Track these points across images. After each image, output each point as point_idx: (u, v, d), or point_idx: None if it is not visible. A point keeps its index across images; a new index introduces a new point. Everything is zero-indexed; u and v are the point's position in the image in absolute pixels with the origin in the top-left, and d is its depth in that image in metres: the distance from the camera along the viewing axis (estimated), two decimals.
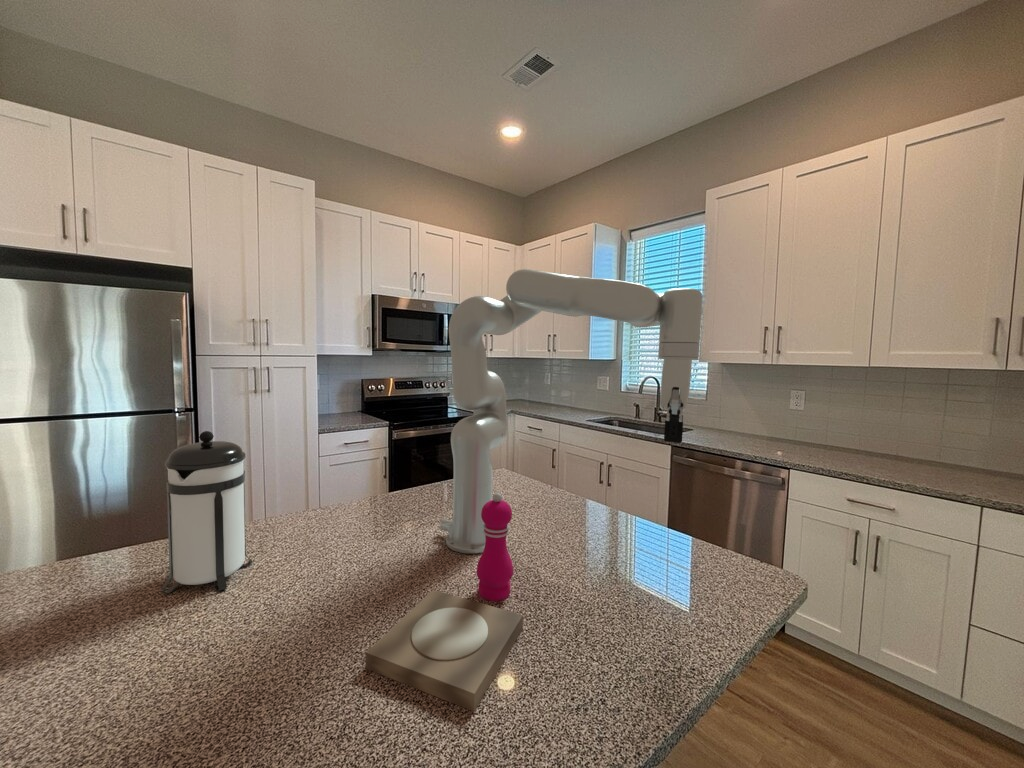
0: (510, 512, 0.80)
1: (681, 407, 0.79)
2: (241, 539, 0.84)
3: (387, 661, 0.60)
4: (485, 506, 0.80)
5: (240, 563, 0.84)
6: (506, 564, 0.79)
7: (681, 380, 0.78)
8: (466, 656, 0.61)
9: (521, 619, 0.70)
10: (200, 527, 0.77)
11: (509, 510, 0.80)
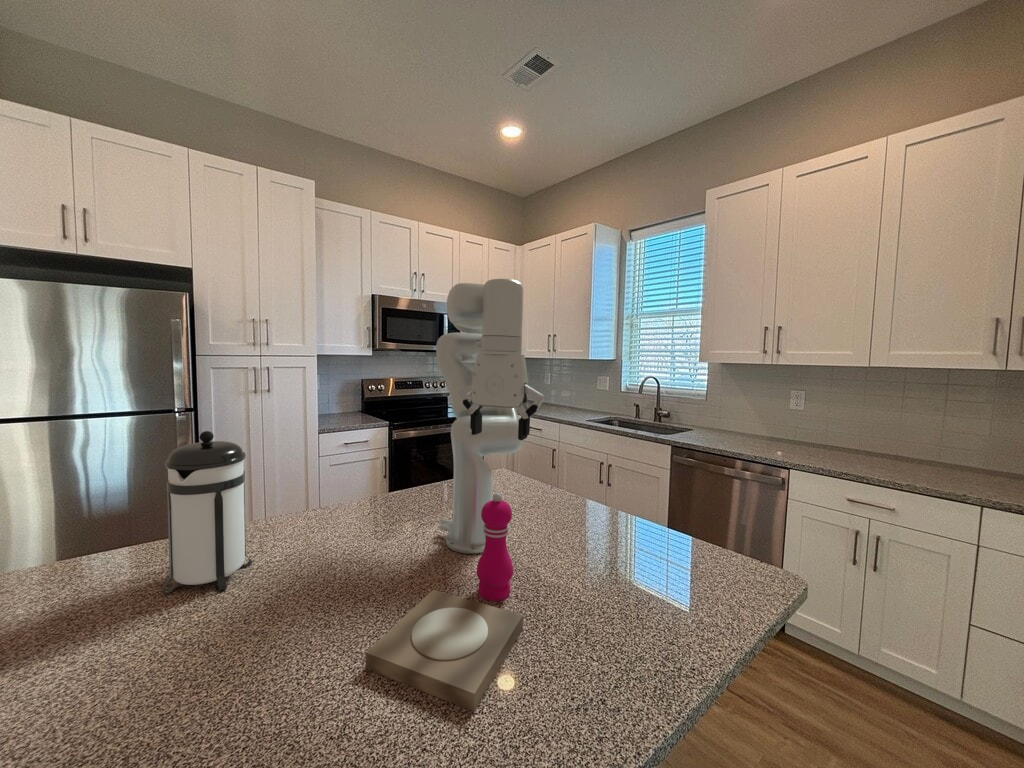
0: (510, 512, 0.80)
1: (524, 402, 0.78)
2: (241, 539, 0.84)
3: (387, 661, 0.60)
4: (485, 506, 0.80)
5: (240, 563, 0.84)
6: (506, 564, 0.79)
7: (526, 375, 0.78)
8: (466, 656, 0.61)
9: (521, 619, 0.70)
10: (200, 527, 0.77)
11: (509, 510, 0.80)
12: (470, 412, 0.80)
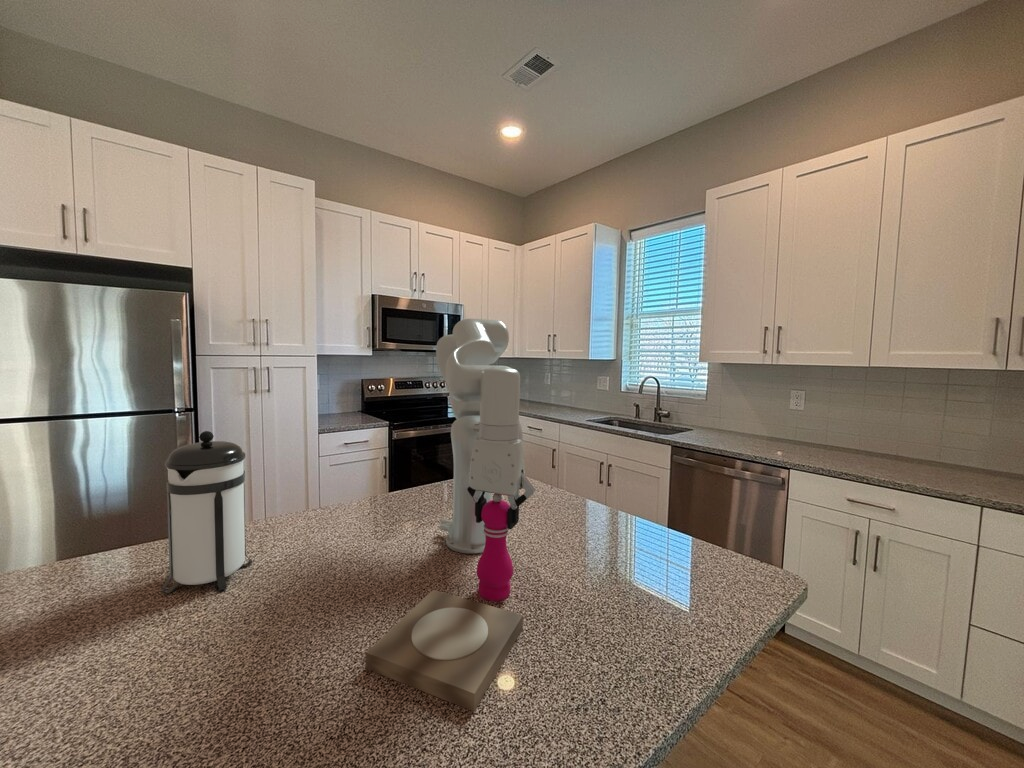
0: None
1: None
2: (241, 539, 0.84)
3: (387, 661, 0.60)
4: (485, 506, 0.80)
5: (240, 563, 0.84)
6: (506, 564, 0.79)
7: (523, 461, 0.79)
8: (466, 656, 0.61)
9: (521, 619, 0.70)
10: (200, 527, 0.77)
11: None
12: (475, 500, 0.81)
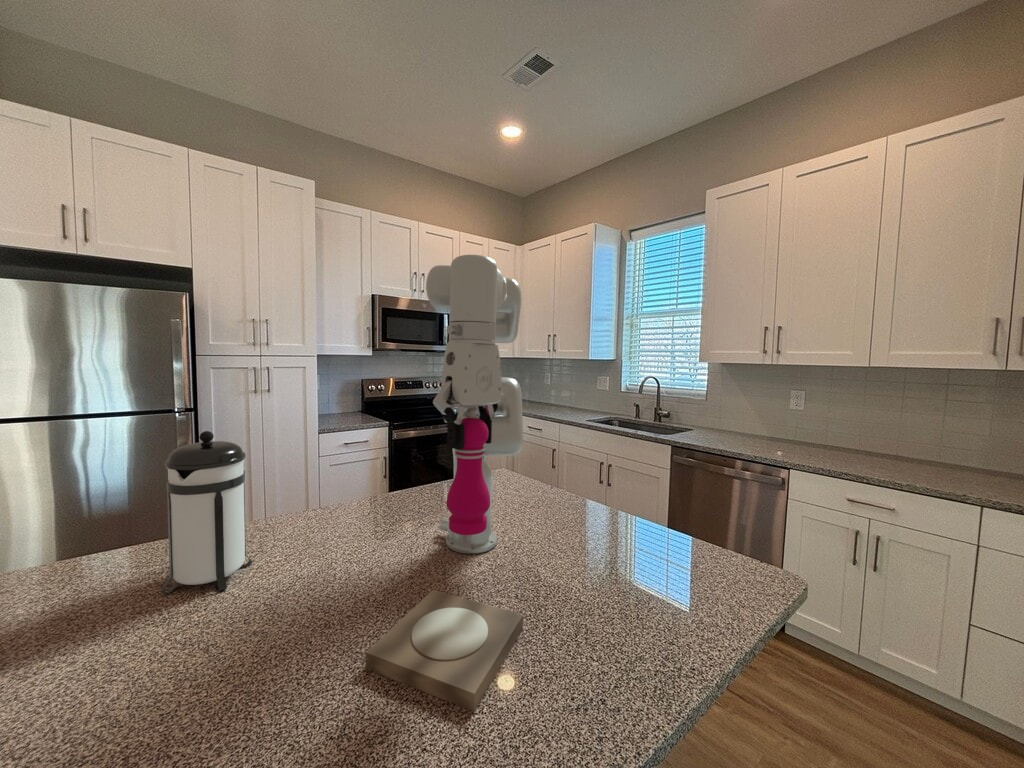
0: None
1: None
2: (241, 539, 0.84)
3: (387, 661, 0.60)
4: (470, 425, 0.66)
5: (240, 563, 0.84)
6: None
7: None
8: (466, 656, 0.61)
9: (521, 619, 0.70)
10: (200, 527, 0.77)
11: None
12: (458, 422, 0.64)
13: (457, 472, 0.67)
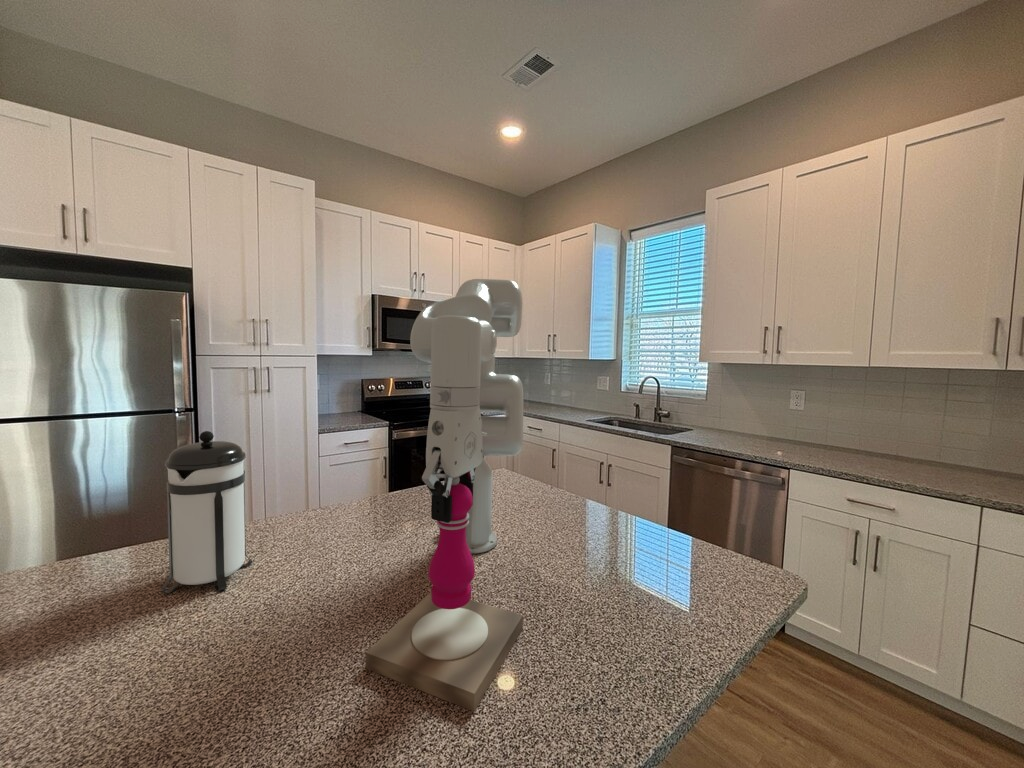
0: None
1: None
2: (241, 539, 0.84)
3: (387, 661, 0.60)
4: (457, 494, 0.62)
5: (240, 563, 0.84)
6: None
7: None
8: (466, 656, 0.61)
9: (521, 619, 0.70)
10: (200, 527, 0.77)
11: None
12: (446, 495, 0.60)
13: (441, 543, 0.64)
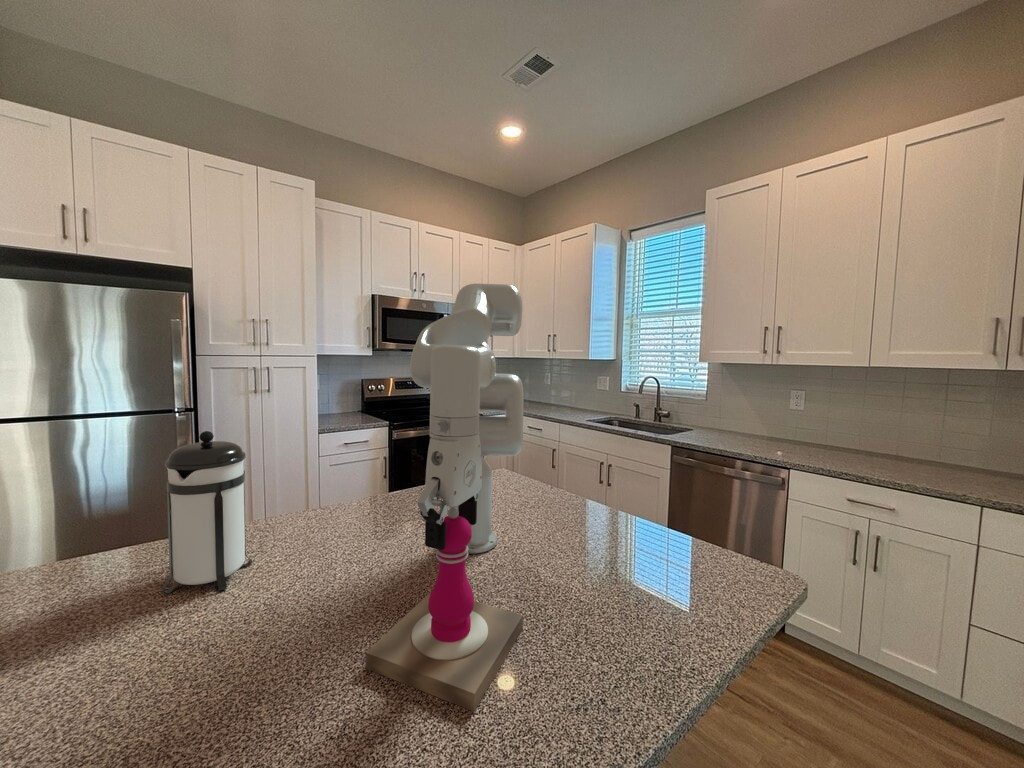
0: None
1: None
2: (241, 539, 0.84)
3: (387, 661, 0.60)
4: (456, 528, 0.63)
5: (240, 563, 0.84)
6: None
7: None
8: (466, 656, 0.61)
9: (521, 619, 0.70)
10: (200, 527, 0.77)
11: None
12: (440, 522, 0.59)
13: (440, 576, 0.64)
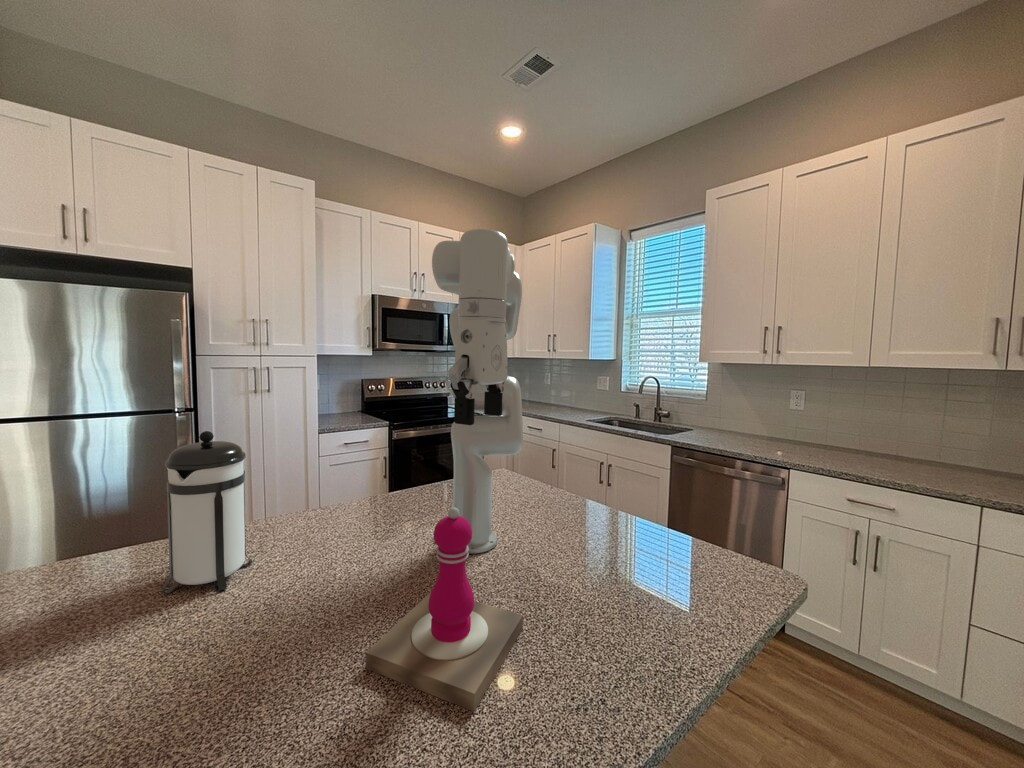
0: None
1: None
2: (241, 539, 0.84)
3: (387, 661, 0.60)
4: (456, 528, 0.63)
5: (240, 563, 0.84)
6: None
7: None
8: (466, 656, 0.61)
9: (521, 619, 0.70)
10: (200, 527, 0.77)
11: None
12: (469, 397, 0.61)
13: (441, 576, 0.64)
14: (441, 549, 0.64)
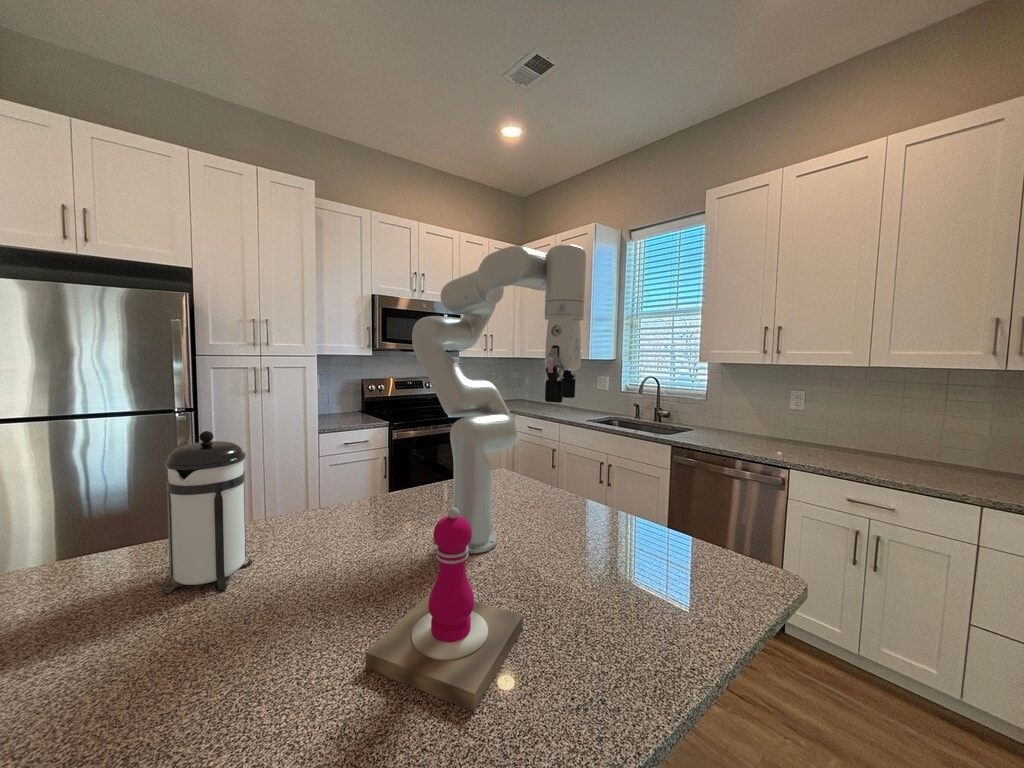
0: None
1: None
2: (241, 539, 0.84)
3: (387, 661, 0.60)
4: (456, 528, 0.63)
5: (240, 563, 0.84)
6: None
7: None
8: (466, 656, 0.61)
9: (521, 619, 0.70)
10: (200, 527, 0.77)
11: None
12: (559, 379, 0.76)
13: (440, 576, 0.64)
14: (441, 549, 0.64)
